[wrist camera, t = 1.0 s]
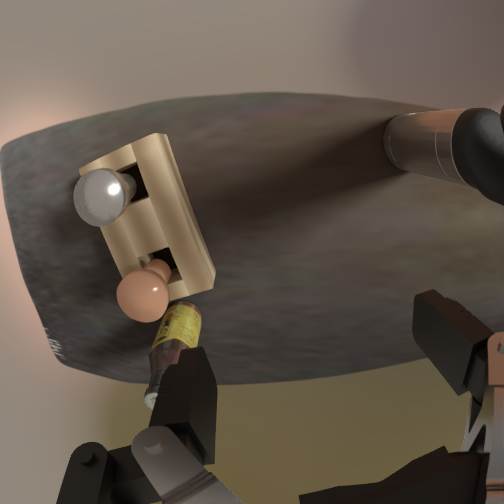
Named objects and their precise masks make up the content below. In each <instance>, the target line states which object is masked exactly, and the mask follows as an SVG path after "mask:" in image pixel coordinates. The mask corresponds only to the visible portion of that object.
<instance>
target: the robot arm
mask: <svg viewBox="0 0 504 504" xmlns="http://www.w3.org/2000/svg"><path fill="white" fill-rule="evenodd" d="M383 144H384V149H385V152H386V155H387V157H388V159H389V160H390V161H391V163H392V164H393V165H395V166H396V167H397V168H399V169H401V170H404V171H409V172H413V173H417V174H421V175H426V176H430V177H434V178H438V179H442V180H446V181H450V182H454V183H458V184H462V185H465V186H469V187H472V188H476V189H478V190H479V191H480V192H481V193H482V194H483V195H484V196H485V197H486V198H488V199H490V200H492V201H494V202H496V203H499V204H501V205H503V206H504V105H503V107H502V109H501V114H498V113H497V112H495V111H493V110H491V109H487V108H468V109H454V110H442V111H431V112H421V113H412V114H404V115H398V116H396V117H394V118H393V119H392V120H390V122H389V123H388V124H387V126H386V128H385V131H384V135H383ZM412 332H413V337H414V339H415V342H416V343H417V344H418V346H419V347H420V348H421V349H422V351H423V352H424V353H425V354H426V355H427V357H428V358H429V359H430V360H431V362H432V363H433V364H434V365H435V367H436V368H437V369H438V371H439V372H440V373H441V374H442V376H443V377H444V378H445V379H446V381H447V382H448V383H449V385H450V386H451V387H452V388H453V390H454V391H455V392H456V394H457V395H458V396H459V395H461V394H463V393H465V392H467V391H470V393H471V397H470V399H469V408H468V417H467V424H466V432H465V438H464V442H463V445H462V448H461V451H460V452H453V453H448V451H447V449H446V447H445V446H442V447H440V448H438V449H437V450H434V451H432V452H430V453H428V454H426V455H423V456H422V457H419V458H417V459H415V460H413V461H411V462H410V463H408V464H407V465H405V466H404V467H403V468H401V469H400V470H398V471H397V472H395V473H393V474H392V475H390V476H389V477H387V478H386V479H384V480H382V481H380V482H377V483H369V484H360V485H348V486H337V487H333V488H330V489H325V490H321V491H317V492H312V493H307V494H303V495H299V500H300V504H504V332H499V333H494V332H493V331H491V330H490V329H489V328H488V327H487V326H486V325H485V324H483V323H482V322H481V321H480V320H479V319H478V318H476V317H475V316H473V315H472V313H471V312H469V311H468V310H466V308H465V307H463V306H462V305H461V304H460V303H458V302H457V301H454V300H452V299H449V298H444V297H443V296H442V295H441V294H439V293H438V292H437V291H436V290H434V289H432V290H429V291H426V292H423V293H420V294H417V295H416V296H415V298H414V310H413V325H412ZM216 413H217V384H216V380H215V377H214V374H213V371H212V369H211V366H210V364H209V361H208V359H207V356H206V353H205V351H204V349H203V347H202V346H199V347H193V348H187V349H182V350H181V351H180V355H179V359H178V364H171V365H169V367H168V368H167V369H166V371H165V372H164V373H163V374H162V377H161V381H160V387H159V388H158V392H157V396H156V400H155V403H154V407H153V411H152V415H151V419H150V423H149V427H148V428H146V429H143V430H142V431H140V432H139V433H138V434H137V435H136V436H135V437H134V439H133V441H132V444H131V445H129V446H126V447H122V448H118V449H114V450H110V451H107V450H106V449H105V447H103V445H101V444H99V443H97V442H88V443H84V444H82V445H81V446H79V447H77V448H76V449H75V450H74V452H73V453H72V455H71V457H70V460H69V463H68V466H67V469H66V472H65V476H64V479H63V482H62V485H61V489H60V492H59V495H58V499H57V502H56V504H150V503H154V502H159V501H162V504H244V503H243V502H242V501H241V500H240V499H238V498H237V497H236V496H235V495H234V494H233V493H232V492H231V491H230V490H229V489H228V488H227V487H226V486H225V485H224V484H223V483H222V482H221V481H219V479H218V478H217V477H216V476H215V475H213V474H212V473H211V472H210V473H209V472H208V471H207V470H206V469H205V468H204V465H207V464H214V463H215V435H216Z"/></svg>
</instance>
